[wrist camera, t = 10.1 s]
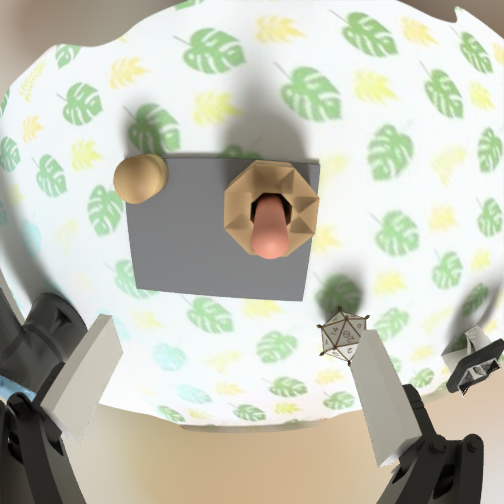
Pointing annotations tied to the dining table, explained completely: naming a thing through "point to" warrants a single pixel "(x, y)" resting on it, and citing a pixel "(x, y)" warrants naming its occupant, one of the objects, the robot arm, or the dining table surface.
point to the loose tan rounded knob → (140, 177)
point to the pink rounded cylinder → (270, 227)
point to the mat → (208, 237)
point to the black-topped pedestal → (472, 361)
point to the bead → (270, 181)
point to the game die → (342, 335)
